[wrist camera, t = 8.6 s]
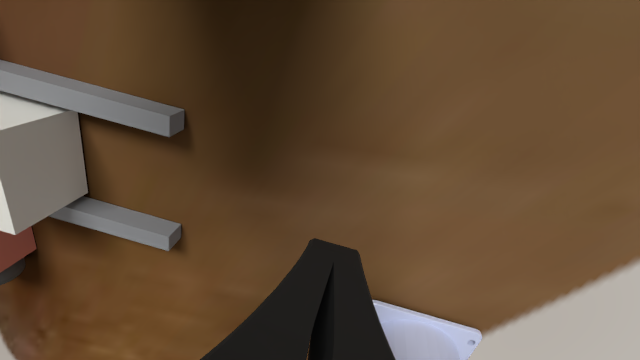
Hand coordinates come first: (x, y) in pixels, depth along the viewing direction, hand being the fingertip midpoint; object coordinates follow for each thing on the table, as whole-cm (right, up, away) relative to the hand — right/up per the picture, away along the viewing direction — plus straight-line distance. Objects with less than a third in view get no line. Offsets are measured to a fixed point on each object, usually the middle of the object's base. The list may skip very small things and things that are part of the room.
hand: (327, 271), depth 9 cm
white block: (-19, +5, +12) cm, 23 cm away
